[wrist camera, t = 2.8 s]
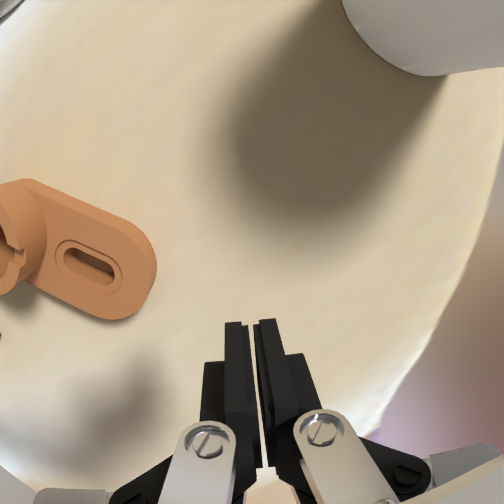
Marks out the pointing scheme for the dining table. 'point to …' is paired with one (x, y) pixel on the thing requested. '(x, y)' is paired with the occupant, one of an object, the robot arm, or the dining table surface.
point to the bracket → (72, 250)
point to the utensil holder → (432, 33)
